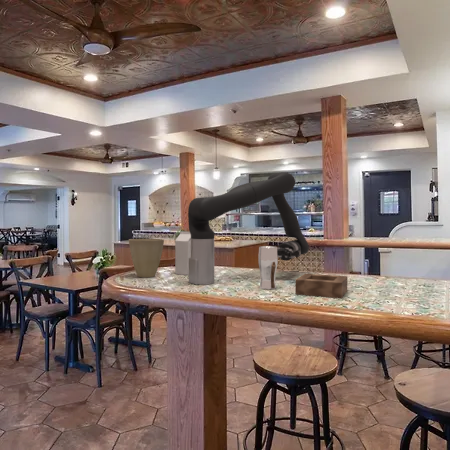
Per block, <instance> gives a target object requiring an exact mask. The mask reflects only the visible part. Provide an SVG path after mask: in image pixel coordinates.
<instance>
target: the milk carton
mask: <svg viewBox="0 0 450 450" xmlns="http://www.w3.org/2000/svg"><path fill="white" fill-rule="evenodd" d="M174 243H175V244H174V246H175V247H174V248H175V249H174V253H175V255H174V257H175V258H174V259H175V261H174V263H175V266H174V267H175V268H174V271H175V275H185V276H189V258H191V234H190V231H179V235H178V236H177V237H176V239H175V240H174Z"/></svg>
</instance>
